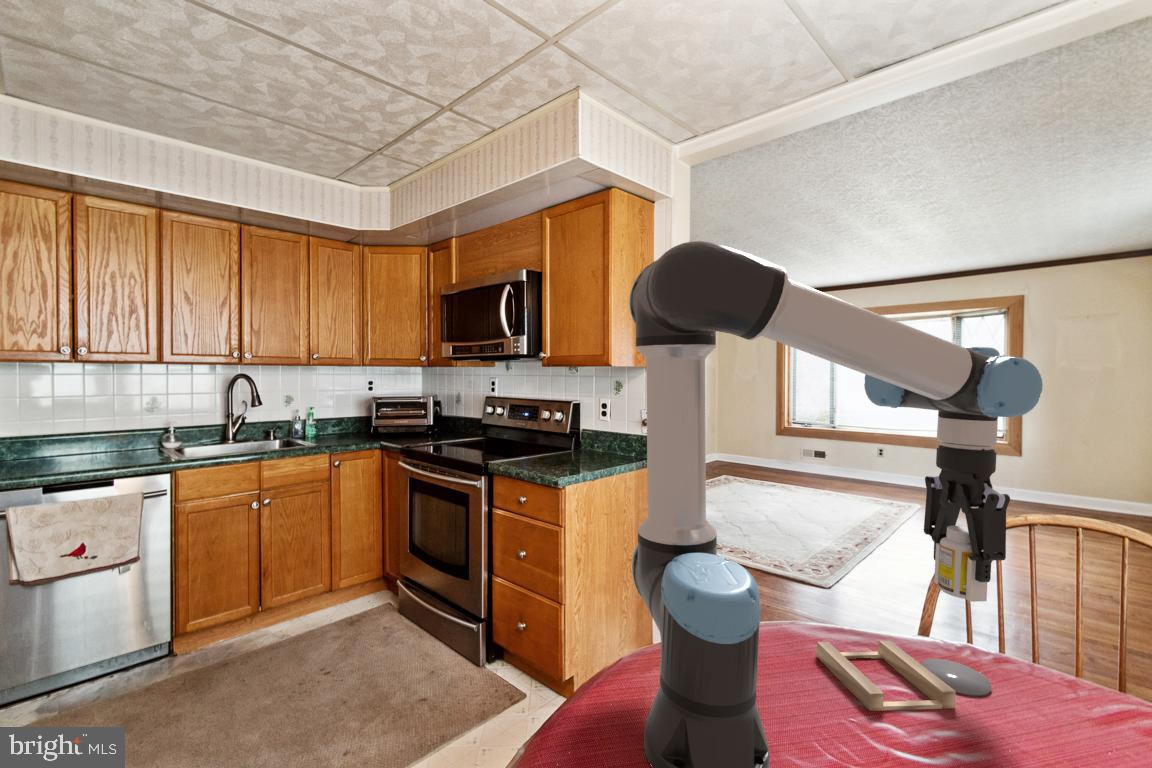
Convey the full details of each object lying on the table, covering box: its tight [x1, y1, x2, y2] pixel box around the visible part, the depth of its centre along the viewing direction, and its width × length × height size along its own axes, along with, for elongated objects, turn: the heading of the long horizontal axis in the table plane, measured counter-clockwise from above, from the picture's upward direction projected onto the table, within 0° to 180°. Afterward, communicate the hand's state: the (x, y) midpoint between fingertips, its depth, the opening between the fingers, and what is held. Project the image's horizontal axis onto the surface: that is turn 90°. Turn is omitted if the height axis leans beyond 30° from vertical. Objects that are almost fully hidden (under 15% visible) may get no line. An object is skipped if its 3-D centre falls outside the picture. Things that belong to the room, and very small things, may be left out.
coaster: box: [920, 658, 992, 697], centre depth 83 cm, size 9×9×1 cm
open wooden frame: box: [816, 639, 957, 712], centre depth 82 cm, size 13×14×2 cm
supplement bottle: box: [938, 525, 983, 600], centre depth 82 cm, size 6×6×10 cm
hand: (959, 591), depth 82 cm, fingers closed on supplement bottle, 6 cm apart
